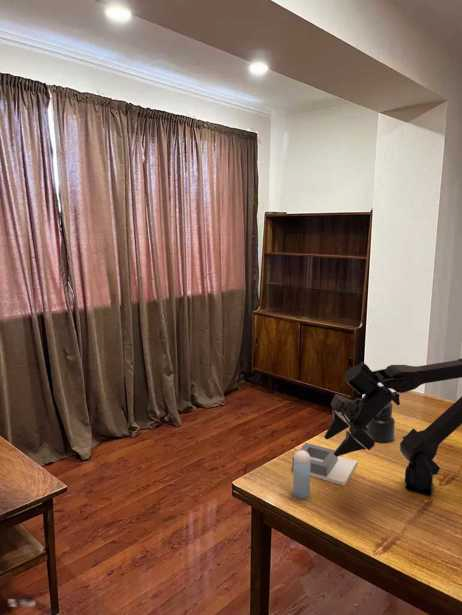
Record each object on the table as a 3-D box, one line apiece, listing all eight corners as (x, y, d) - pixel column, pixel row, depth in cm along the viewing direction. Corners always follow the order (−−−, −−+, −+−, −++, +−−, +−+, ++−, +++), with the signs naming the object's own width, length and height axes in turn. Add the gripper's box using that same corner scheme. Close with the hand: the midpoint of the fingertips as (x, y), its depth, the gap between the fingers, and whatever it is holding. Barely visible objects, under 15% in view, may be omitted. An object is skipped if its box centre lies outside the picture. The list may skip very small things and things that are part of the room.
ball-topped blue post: (312, 492, 120) (313, 449, 117) (306, 500, 116) (307, 457, 114) (296, 487, 122) (297, 445, 120) (290, 495, 118) (291, 452, 116)
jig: (357, 464, 133) (357, 452, 133) (344, 485, 122) (345, 472, 122) (307, 451, 141) (308, 439, 141) (292, 470, 130) (292, 458, 130)
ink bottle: (400, 438, 149) (402, 405, 147) (383, 446, 144) (385, 411, 142) (376, 428, 157) (378, 396, 155) (359, 434, 152) (361, 402, 150)
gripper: (339, 373, 124) (301, 413, 125) (362, 399, 106) (317, 445, 107) (366, 398, 126) (328, 437, 127) (394, 428, 107) (349, 472, 109)
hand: (330, 446), depth 118 cm, fingers open, 9 cm apart
